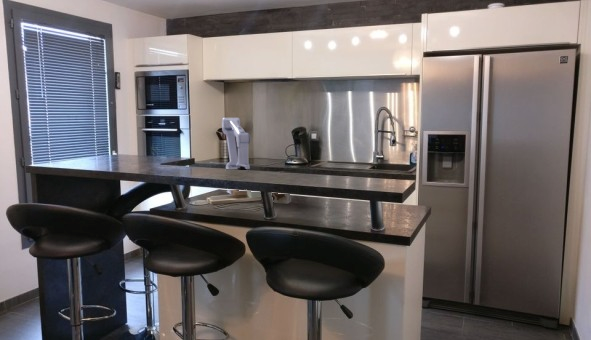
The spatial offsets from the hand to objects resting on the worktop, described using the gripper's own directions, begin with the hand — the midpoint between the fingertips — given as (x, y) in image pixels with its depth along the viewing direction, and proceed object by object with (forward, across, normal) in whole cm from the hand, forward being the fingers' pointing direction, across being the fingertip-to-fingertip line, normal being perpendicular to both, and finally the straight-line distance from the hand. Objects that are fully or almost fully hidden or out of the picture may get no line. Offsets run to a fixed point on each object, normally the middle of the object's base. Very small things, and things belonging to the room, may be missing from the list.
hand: (243, 180), depth 244 cm
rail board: (+10, +2, -4) cm, 11 cm away
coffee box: (+10, +16, +15) cm, 24 cm away
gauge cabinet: (+9, +2, +6) cm, 11 cm away
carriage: (+8, +2, -3) cm, 9 cm away
